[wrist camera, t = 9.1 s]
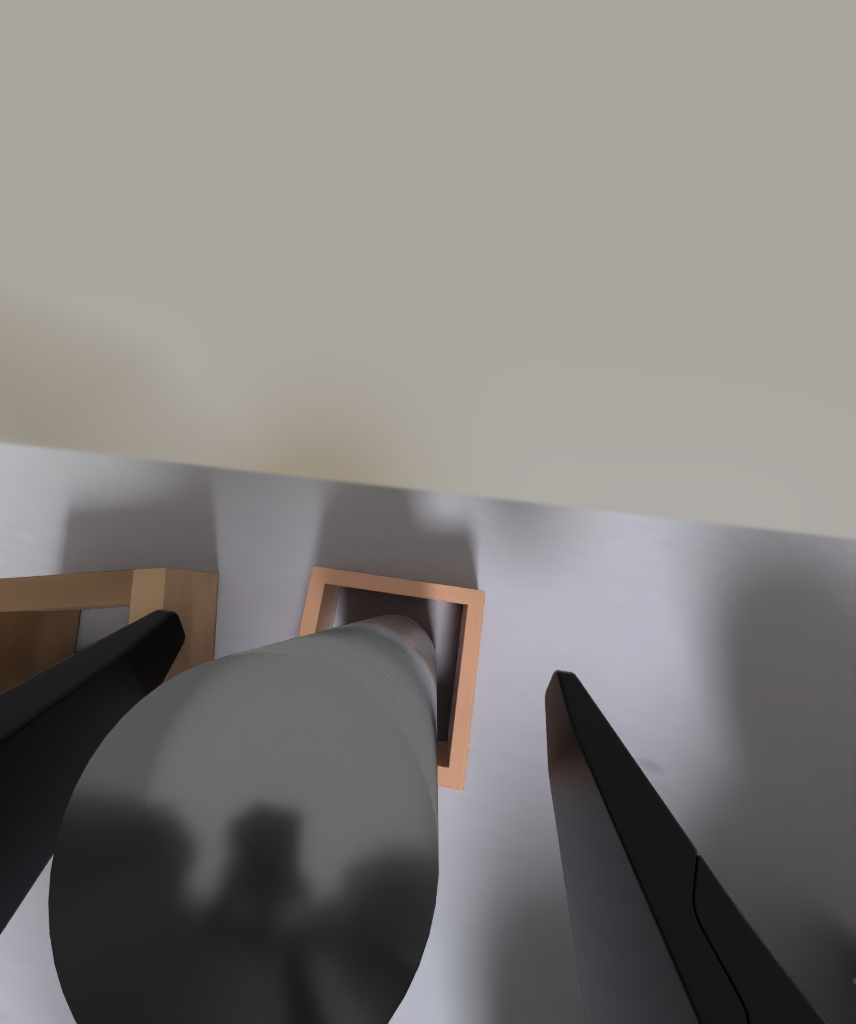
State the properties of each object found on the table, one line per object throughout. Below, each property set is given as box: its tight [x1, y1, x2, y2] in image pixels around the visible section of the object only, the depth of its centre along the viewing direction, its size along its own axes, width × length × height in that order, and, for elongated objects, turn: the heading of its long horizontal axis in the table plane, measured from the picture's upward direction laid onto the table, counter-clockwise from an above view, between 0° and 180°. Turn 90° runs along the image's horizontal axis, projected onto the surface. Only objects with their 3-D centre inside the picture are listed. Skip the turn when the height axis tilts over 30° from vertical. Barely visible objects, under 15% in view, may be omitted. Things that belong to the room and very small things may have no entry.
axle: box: [48, 614, 439, 1024], centre depth 10 cm, size 4×4×13 cm
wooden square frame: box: [0, 567, 218, 694], centre depth 15 cm, size 7×7×4 cm
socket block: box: [298, 566, 486, 790], centre depth 15 cm, size 7×7×2 cm
